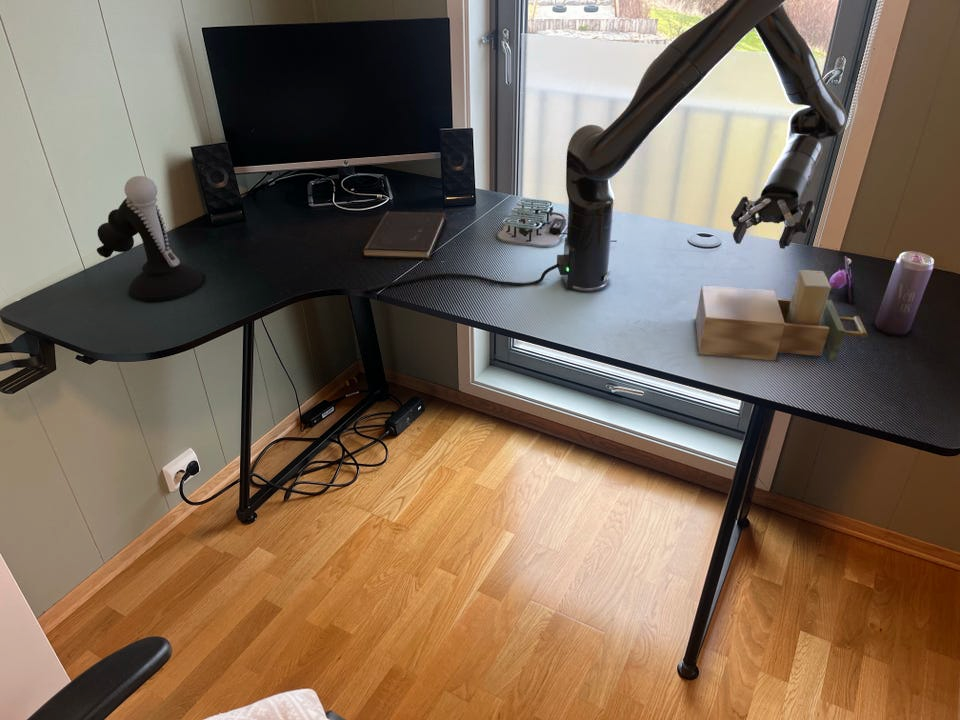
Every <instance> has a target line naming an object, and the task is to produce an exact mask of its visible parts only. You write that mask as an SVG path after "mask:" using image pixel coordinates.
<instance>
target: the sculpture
mask: <svg viewBox="0 0 960 720" xmlns="http://www.w3.org/2000/svg"><path fill="white" fill-rule="evenodd" d="M123 191H124V194H125V197H126V198H125V199H124V200H123V201H122V202H121V203H120V205H119V206H118V208H115V209H112V210H111V211H110V212H109V213H108V216H107V222H104V223H102V224H101V225H99V226H98V228H97V237H98V240H99V242H101V244H102V245H101V246H99V247H97V248H96V253H97V254H98V255H99V256H101V257H103V258H105V259H108V258H110V257H111V256H112V255H113V253H114V252H116V253H126V252H129V251H130V250H132V249H133V248H134V245H135V239H134V236H136V235H137V234H138V235H139V237H140V238H141V240H142V244H143V247H144V252H145V257H146V262H144V264H143V265H142V267H141V270H142V271H141V272H139V273H138V274H137V275H136V276H135V278H133V280H132V282H131V283H130V285H129V291H130V294H131V296H132V297H133V298H134V299H136V300H138V301H142V302H149V303H151V302H152V303H154V302H156V303H157V302H166V301H171V300H176V299H179V298H182V297H184V296H187V295H188V294H190V293H193V292H194V291H195V290H197V289H198V288H199V287H200V286H201V285H202V283H203V280H204V279H203V274H202V271H200V269H198V268H196V267H194V266H192V265H190V264H186V263H183V262H181V260H180V259H179V258H178V257H177V256H176V254H174V252H173V250H172V249H171V248H170V246H169V245H170V243H169V242H168V241H169V238H168V234H167V233H168V231H167V226H166V225H165V224H166V223H165V221H163V220H164V218H163V217H162V216H163V215H162V213H160V212H161V209H160V208H159V205H158V204H157V203H158V198H157V195H158V186H157V185H156V183H155V182H154V181H153V179H151V178H149V177H147V176H144V175H137V176H132V177H131V178H129V179H128V180H127V181H126V182H125V185H124V189H123Z"/></svg>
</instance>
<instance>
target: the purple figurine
mask: <svg viewBox="0 0 960 720" xmlns="http://www.w3.org/2000/svg"><path fill="white" fill-rule="evenodd" d="M851 263H852V259H851V258H848V256H847V255H844V267H845V269H840V268H839V269H838V271H837V272H835V273H833V274H832V275H831V276H830V278H829V280H828V282H829V284H830V286H831V289H830V291H831V290H840V289H841V288H843V287H844V286H845V285H846V287H847V297H848V303H849V304H852V295H851V294H852V293H851V287H852V285H851V283H852V276H850V275H852V270H851V269H850V266H849V265H850V264H851Z"/></svg>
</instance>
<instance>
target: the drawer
mask: <svg viewBox="0 0 960 720" xmlns="http://www.w3.org/2000/svg"><path fill="white" fill-rule="evenodd" d="M791 299H792V298H779V297H777V300H778V303H779V306H780V309H781V312H782V316H783V319H784V322H785V320H786V317H787V313H788V310H789V306H790V302H791ZM842 322H850V323H853V324H854V326H855V329H856V330H845V327H844V325H843V323H842ZM845 336H852V337H853V336H855V337H860V338H861V339H866V338H868V336H869V335H868V332H867V330H866V328H865V326H864V324H863V322H862V319H861V318H860V316H858V315H854V316H853V317H849V316H839V314H838V312H837V309H836V306H835V305H834V302H833V300H832V299H827V302H826V305H825V308H824V311H823V315H822V318H821V321H820V324H819V326H815V325H802V324H790V323H785V326H784V330H783V334H782V337H781V341H780V345H779V349H778V353H784V354H792V355H793V354H794V355H803V356H804V355H805V356H815V357H816V356H817V357H822V354H823V351H824V350H825V354H826V355H827V358H828V360H830V361H836V360H837V359H838V356H839V352H840V349H841V346H842V342H843V340H844V337H845Z"/></svg>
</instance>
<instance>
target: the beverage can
mask: <svg viewBox="0 0 960 720" xmlns="http://www.w3.org/2000/svg"><path fill="white" fill-rule="evenodd" d="M934 263H935V259H934V257H932V256H931V255H929V254H926V253H924V252H919V251H913V250H911V251H909V250H908V251H902V252H901V253H900V254H899V256H898V257H897V258H896V260H895V264H894V267H893V269H892V272H891V275H890V277H889V281H888V284H887V287H886V289H885V293H884V296H883V298H882V301H881V304H880V307H879V310H878V313H877V315H876V319H875V322H874V323H875V327H876V328H877V329H878V330H879V331H880V332H882V333H884V334H887V335H892V336H903V335H905V334H907V333H908V332H909V331H910V330H911V327H912V324H913V322H914V320H915V317H916V315H917V312H918V310H919V306H920V304H921V302H922V298H923V296H924V294H925V290H926V288H927V285H928V283H929V280H930V278H931V275H932V272H933V269H934Z"/></svg>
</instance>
